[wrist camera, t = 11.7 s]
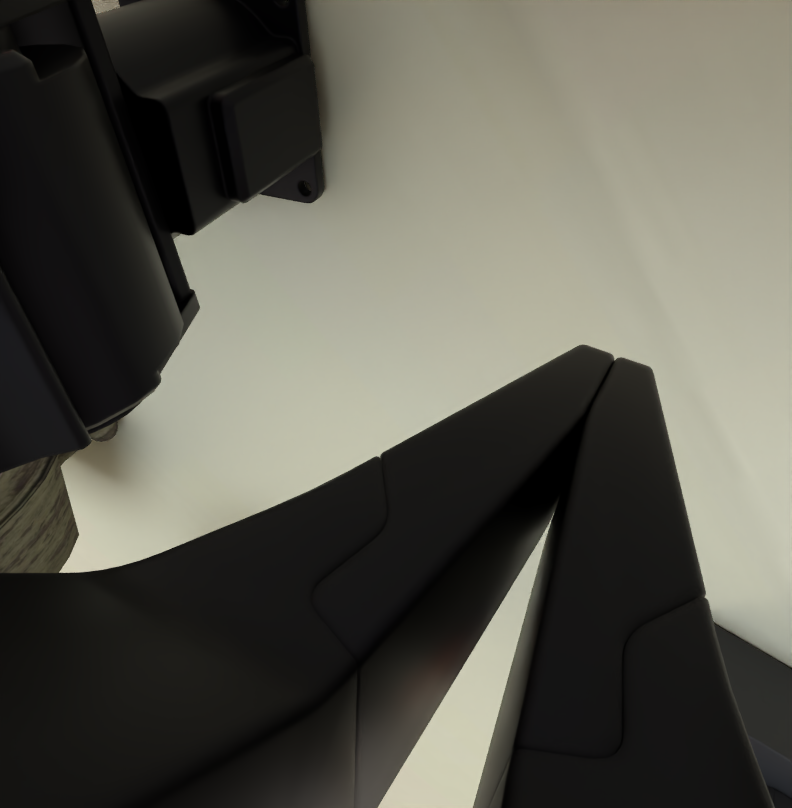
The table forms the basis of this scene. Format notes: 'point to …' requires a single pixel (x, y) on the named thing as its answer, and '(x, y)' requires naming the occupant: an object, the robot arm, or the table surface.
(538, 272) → the table surface
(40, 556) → the tabletop clock
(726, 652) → the block
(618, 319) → the table surface
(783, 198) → the table surface
